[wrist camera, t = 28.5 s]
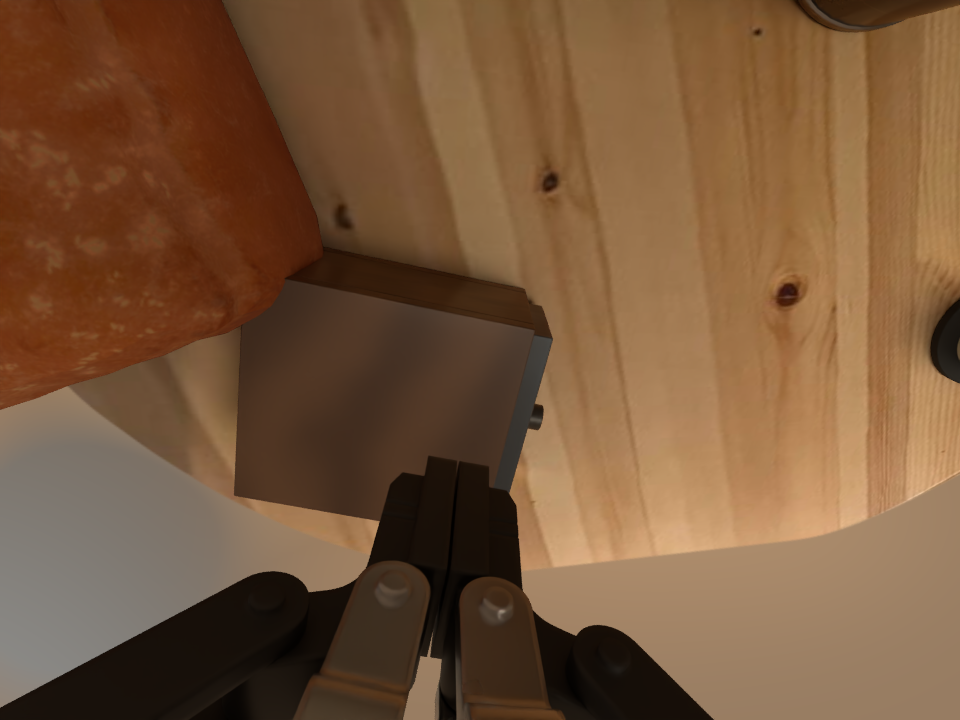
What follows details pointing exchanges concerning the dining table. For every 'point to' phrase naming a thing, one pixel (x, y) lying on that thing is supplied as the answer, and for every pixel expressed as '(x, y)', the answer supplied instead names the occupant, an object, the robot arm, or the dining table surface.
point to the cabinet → (374, 381)
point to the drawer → (526, 400)
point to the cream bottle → (958, 349)
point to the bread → (134, 188)
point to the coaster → (947, 344)
